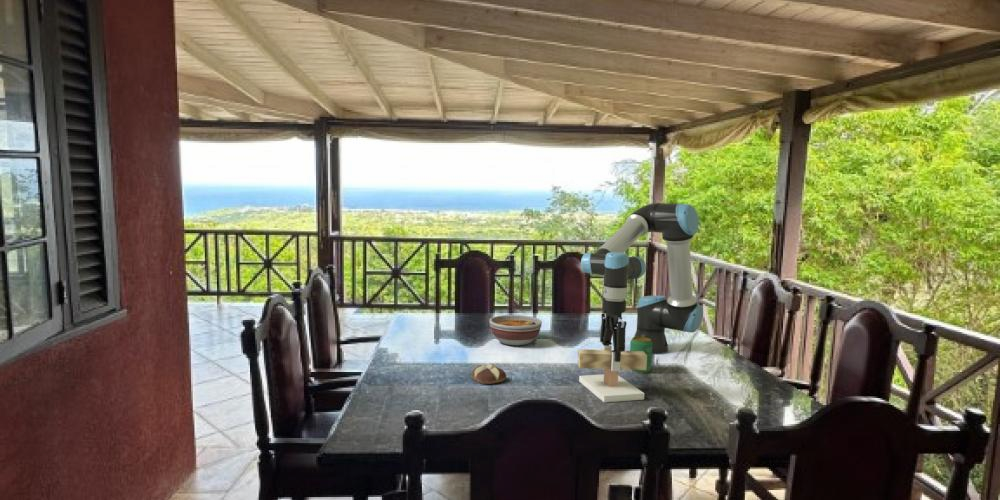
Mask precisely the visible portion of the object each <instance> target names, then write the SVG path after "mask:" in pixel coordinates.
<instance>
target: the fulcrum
mask: <svg viewBox="0 0 1000 500" xmlns="http://www.w3.org/2000/svg"><path fill="white" fill-rule="evenodd" d="M578 382H579V383H580V384H582V385H583V386H584V387H585V388H586V389H587V390H589V391H590V392H591V393H592V394H594V396H596V397H597V398H598V399H599V400H600V401H602V402H603V403H614V402H629V401H640V400H641V401H642V400H645V393H644V392H643V391H642V390H640V389H639V388H637V387H636V386H635V385H633V384H631V383H630V382H629V381H627V380H626V379H624V378H623V377H622V376H620V375H619V371H611V369H603V374H588V375H586V374H585V375H579V379H578Z"/></svg>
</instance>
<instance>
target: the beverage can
mask: <svg viewBox="0 0 1000 500" xmlns="http://www.w3.org/2000/svg"><path fill="white" fill-rule="evenodd" d="M629 345H630V346H629V351H644V352H645V353H646V355H647V368H646V370H632V371H631V372H633V371H634V373H637V372H638V373H637V374H647V373H649V372H651V370H652V359H653V357H652V355H653V354H652V342H651V339H649V338H646V337H634V336H633V337H632V338H631V340H630V344H629Z"/></svg>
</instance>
